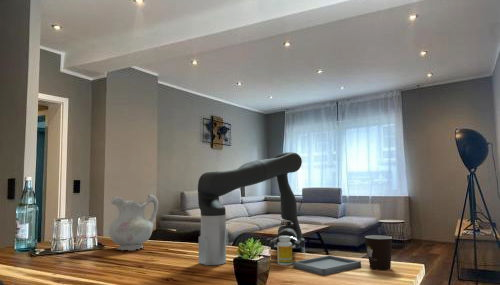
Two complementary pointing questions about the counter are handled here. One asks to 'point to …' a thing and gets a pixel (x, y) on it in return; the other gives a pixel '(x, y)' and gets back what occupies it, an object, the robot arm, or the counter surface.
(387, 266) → the coffee mug
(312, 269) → the tray
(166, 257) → the counter surface
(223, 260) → the robot arm
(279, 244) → the supplement bottle
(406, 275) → the counter surface
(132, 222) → the ceramic pitcher
